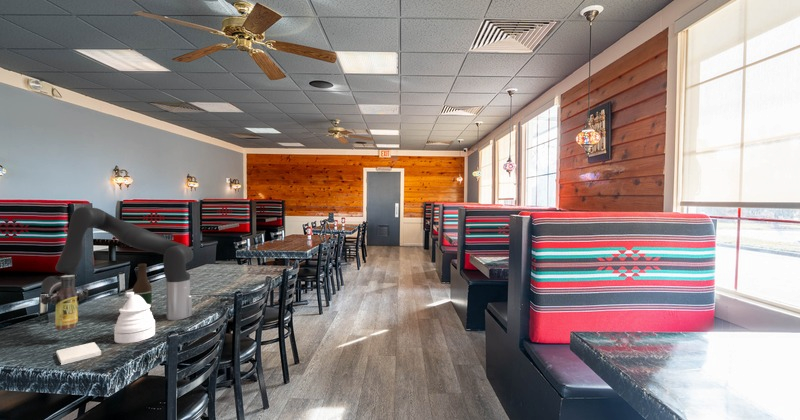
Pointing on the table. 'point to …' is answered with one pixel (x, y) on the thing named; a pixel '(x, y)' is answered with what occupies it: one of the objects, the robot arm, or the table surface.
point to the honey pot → (134, 321)
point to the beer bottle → (143, 285)
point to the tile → (78, 353)
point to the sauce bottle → (66, 304)
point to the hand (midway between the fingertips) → (68, 300)
